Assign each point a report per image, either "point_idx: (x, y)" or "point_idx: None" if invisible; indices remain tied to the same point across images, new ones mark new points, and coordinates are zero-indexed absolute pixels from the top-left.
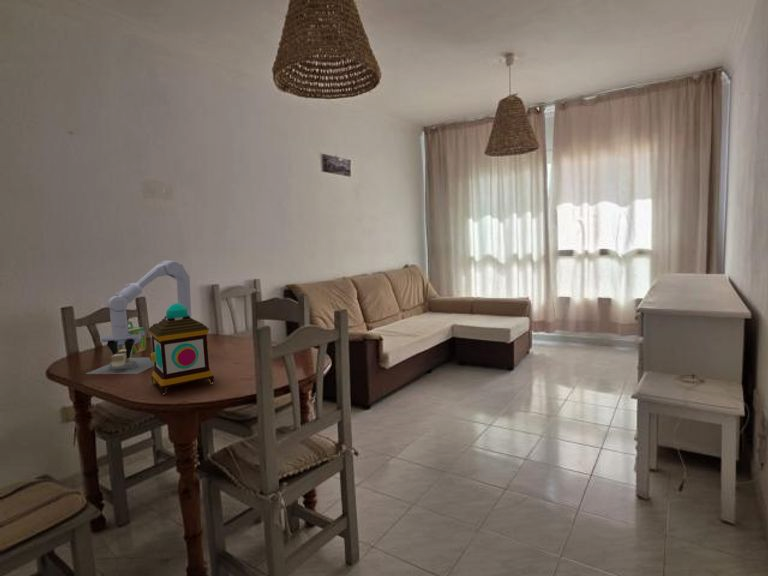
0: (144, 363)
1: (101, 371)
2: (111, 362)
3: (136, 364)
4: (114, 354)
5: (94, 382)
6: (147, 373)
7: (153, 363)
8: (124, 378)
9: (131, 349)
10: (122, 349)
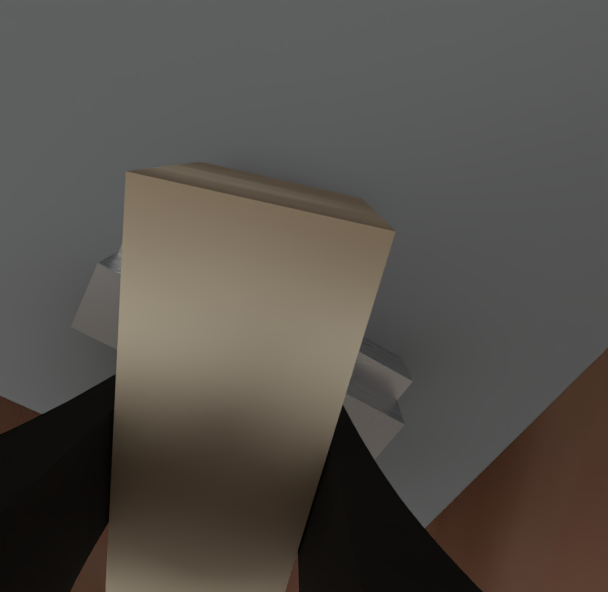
0: (481, 239)
1: (48, 348)
2: (93, 333)
3: (394, 398)
4: (112, 571)
5: (102, 571)
6: (457, 543)
7: (572, 302)
8: (296, 578)
9: (383, 258)
10: (161, 198)
